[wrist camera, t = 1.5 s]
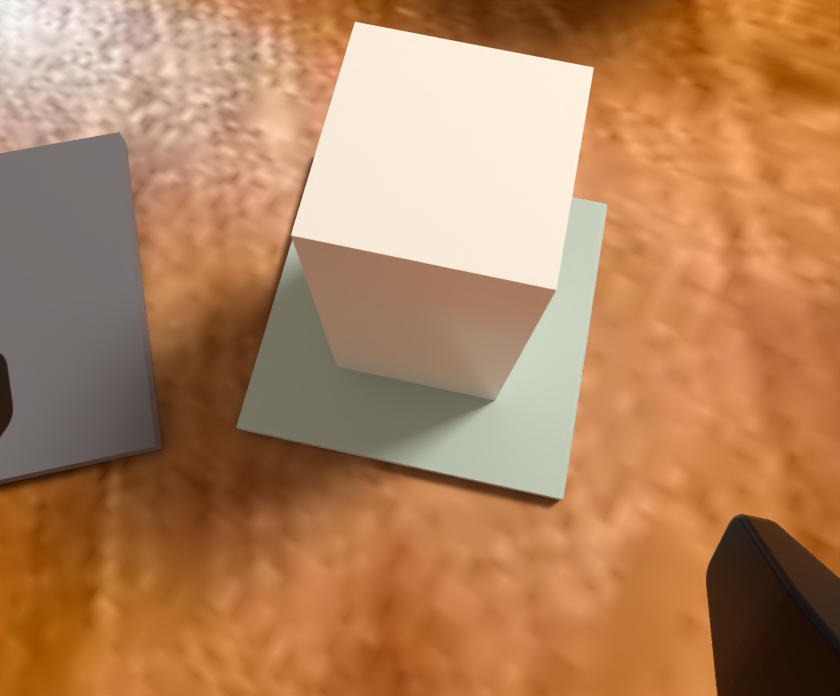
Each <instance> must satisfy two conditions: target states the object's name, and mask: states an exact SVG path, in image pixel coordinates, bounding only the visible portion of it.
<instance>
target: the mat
mask: <svg viewBox="0 0 840 696" xmlns="http://www.w3.org/2000/svg"><path fill="white" fill-rule="evenodd" d="M0 353H1V354H3V356H4V357H5V359H6V361H7V365H8V372H9V379H10V386H11V393H12V401H13V415H12V419H11V421H10V423H9V426H8V427H7V429H6V430H5V432H4V433H3V434H2V436H1V437H0V484H5V483H9V482H14V481H18V480H23V479H28V478H32V477H37V476H41V475H46V474H51V473H55V472H60V471H64V470H69V469H74V468H78V467H83V466H87V465H92V464H97V463H101V462H106V461H110V460H115V459H120V458H124V457H129V456H133V455H138V454H143V453H147V452H152V451H156V450H161V449H162V443H161V435H160V426H159V418H158V409H157V401H156V392H155V384H154V375H153V367H152V358H151V350H150V342H149V333H148V325H147V316H146V308H145V299H144V291H143V282H142V274H141V265H140V257H139V248H138V240H137V231H136V223H135V214H134V206H133V198H132V189H131V181H130V172H129V164H128V155H127V147H126V142H125V140H124V139H123V137H122V136H121V134H120V133H119V132H118V133H113V134H107V135H101V136H96V137H90V138H85V139H79V140H73V141H68V142H62V143H56V144H51V145H45V146H40V147H34V148H28V149H23V150H17V151H11V152H6V153H0Z"/></svg>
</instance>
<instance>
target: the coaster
mask: <svg viewBox="0 0 840 696" xmlns="http://www.w3.org/2000/svg"><path fill="white" fill-rule="evenodd" d="M606 211H607V204H604V203H599V202H594V201H589V200H584V199H579V198H574V197H572V200H571V206H570V212H569V218H568V224H567V230H566V236H565V242H564V248H563V254H562V260H561V266H560V272H559V277H558V283H557V289H556V292H555V293H554V295H553V297H552V299H551V301H550V302H549V304H548V306H547V308H546V310H545V312H544V313H543V315H542V317H541V319H540V321H539V322H538V324H537V326H536V328H535V330H534V331H533V333H532V335H531V337H530V339H529V340H528V342H527V344H526V346H525V348H524V349H523V351H522V353H521V355H520V357H519V358H518V360H517V362H516V364H515V366H514V367H513V369H512V371H511V373H510V375H509V377H508V378H507V380H506V382H505V384H504V386H503V387H502V389H501V391H500V393H499V395H498V396H497V398H496V400H490V399H485V398H481V397H476V396H471V395H467V394H462V393H457V392H453V391H448V390H443V389H439V388H434V387H429V386H425V385H420V384H415V383H411V382H406V381H401V380H397V379H392V378H387V377H383V376H378V375H373V374H369V373H364V372H359V371H355V370H350V369H345V368H341V367H337V365H336V362H335V359H334V357H333V354H332V351H331V348H330V345H329V342H328V340H327V337H326V334H325V331H324V328H323V325H322V322H321V320H320V317H319V314H318V311H317V308H316V305H315V303H314V300H313V297H312V294H311V291H310V288H309V285H308V283H307V280H306V277H305V274H304V271H303V268H302V266H301V263H300V260H299V257H298V254H297V251H296V248H295V246H294V243H293V240H292V242H291V246H290V249H289V252H288V256H287V259H286V262H285V266H284V269H283V272H282V276H281V279H280V282H279V286H278V289H277V292H276V296H275V299H274V302H273V306H272V309H271V312H270V316H269V319H268V322H267V326H266V329H265V332H264V336H263V339H262V342H261V346H260V349H259V353H258V356H257V359H256V363H255V366H254V369H253V373H252V376H251V379H250V383H249V386H248V389H247V393H246V396H245V399H244V403H243V406H242V409H241V413H240V416H239V419H238V423H237V426H236V428H237V429H239V430H242V431H247V432H251V433H256V434H260V435H265V436H269V437H274V438H278V439H283V440H288V441H292V442H297V443H301V444H306V445H310V446H315V447H319V448H324V449H328V450H333V451H338V452H342V453H347V454H351V455H356V456H360V457H365V458H369V459H374V460H379V461H383V462H388V463H392V464H397V465H401V466H406V467H410V468H415V469H419V470H424V471H429V472H433V473H438V474H442V475H447V476H451V477H456V478H460V479H465V480H470V481H474V482H479V483H483V484H488V485H492V486H497V487H501V488H506V489H510V490H515V491H520V492H524V493H529V494H533V495H538V496H542V497H547V498H551V499H556V500H563V498H564V491H565V484H566V478H567V471H568V464H569V458H570V451H571V444H572V438H573V431H574V424H575V418H576V411H577V404H578V397H579V391H580V384H581V377H582V371H583V364H584V357H585V351H586V344H587V337H588V331H589V324H590V317H591V311H592V304H593V297H594V291H595V284H596V277H597V271H598V264H599V257H600V251H601V244H602V237H603V231H604V224H605V217H606Z"/></svg>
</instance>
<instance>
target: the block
mask: <svg viewBox="0 0 840 696" xmlns="http://www.w3.org/2000/svg"><path fill="white" fill-rule="evenodd" d="M593 69H594V68H593V67H588V66H583V65H578V64H572V63H567V62H562V61H557V60H552V59H546V58H541V57H536V56H531V55H525V54H520V53H515V52H510V51H504V50H499V49H494V48H489V47H484V46H478V45H473V44H468V43H463V42H457V41H452V40H447V39H442V38H436V37H431V36H426V35H421V34H416V33H410V32H405V31H400V30H395V29H389V28H384V27H379V26H374V25H368V24H363V23H358V22H355V24H354V27H353V31H352V34H351V37H350V41H349V44H348V47H347V51H346V54H345V57H344V60H343V64H342V67H341V70H340V74H339V77H338V80H337V84H336V87H335V90H334V94H333V97H332V100H331V104H330V107H329V110H328V114H327V117H326V120H325V124H324V127H323V130H322V134H321V137H320V140H319V144H318V147H317V150H316V154H315V157H314V160H313V163H312V167H311V170H310V173H309V177H308V180H307V183H306V187H305V190H304V193H303V197H302V200H301V203H300V207H299V210H298V213H297V217H296V220H295V223H294V227H293V230H292V233H291V237H292V240H293V243H294V246H295V248H296V251H297V254H298V257H299V260H300V263H301V266H302V268H303V271H304V274H305V277H306V280H307V283H308V285H309V288H310V291H311V294H312V297H313V300H314V303H315V305H316V308H317V311H318V314H319V317H320V320H321V322H322V325H323V328H324V331H325V334H326V337H327V340H328V342H329V345H330V348H331V351H332V354H333V357H334V359H335V362H336V365H337V367H341V368H345V369H350V370H355V371H359V372H364V373H369V374H373V375H378V376H383V377H387V378H392V379H397V380H401V381H406V382H411V383H415V384H420V385H425V386H429V387H434V388H439V389H443V390H448V391H453V392H457V393H462V394H467V395H471V396H476V397H481V398H485V399H490V400H496V398H497V396H498V395H499V393H500V391H501V389H502V387H503V386H504V384H505V382H506V380H507V378H508V377H509V375H510V373H511V371H512V369H513V367H514V366H515V364H516V362H517V360H518V358H519V357H520V355H521V353H522V351H523V349H524V348H525V346H526V344H527V342H528V340H529V339H530V337H531V335H532V333H533V331H534V330H535V328H536V326H537V324H538V322H539V321H540V319H541V317H542V315H543V313H544V312H545V310H546V308H547V306H548V304H549V302H550V301H551V299H552V297H553V295H554V293H555V292H556V289H557V283H558V277H559V272H560V266H561V260H562V254H563V248H564V242H565V236H566V230H567V224H568V218H569V212H570V206H571V200H572V194H573V188H574V182H575V176H576V170H577V164H578V158H579V152H580V146H581V140H582V134H583V129H584V123H585V117H586V111H587V105H588V99H589V93H590V87H591V81H592V75H593Z"/></svg>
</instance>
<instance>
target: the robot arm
mask: <svg viewBox="0 0 840 696" xmlns="http://www.w3.org/2000/svg"><path fill="white" fill-rule="evenodd" d="M12 415H13V401H12V393H11V386H10V379H9V372H8V365H7V361H6V359H5V357H4V356H3V354H1V353H0V437H1V436H2V434H3V433H4V432H5V430H6V429H7V427H8V426H9V423H10V421H11V419H12ZM706 588H707V598H708V608H709V618H710V628H711V638H712V648H713V658H714V668H715V678H716V687H717V695H718V696H840V578H839V577H838V576H837V575H835V574H834V573H833V572H832V571H831V570H830V569H828V568H827V567H826V566H825V565H824V564H823V563H822V562H820V561H819V560H818V559H817V558H816V557H815V556H814V555H812V554H811V553H810V552H809V551H808V550H807V549H806V548H804V547H803V546H802V545H801V544H800V543H799V542H797V541H796V540H795V539H794V538H793V537H792V536H791V535H789V534H788V533H787V532H786V531H785V530H784V529H783V528H781V527H780V526H779V525H778V524H777V523H775V522H773V521H771V520H768V519H763V518H759V517H754V516H749V515H745V514H740V515H737V516H735V517H734V518H733V519H732V520H731V521H730V523H729V524H728V526H727V528H726V530H725V532H724V534H723V536H722V538H721V540H720V542H719V544H718V546H717V548H716V550H715V552H714V554H713V556H712V558H711V560H710V562H709V565H708V569H707V574H706Z"/></svg>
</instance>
